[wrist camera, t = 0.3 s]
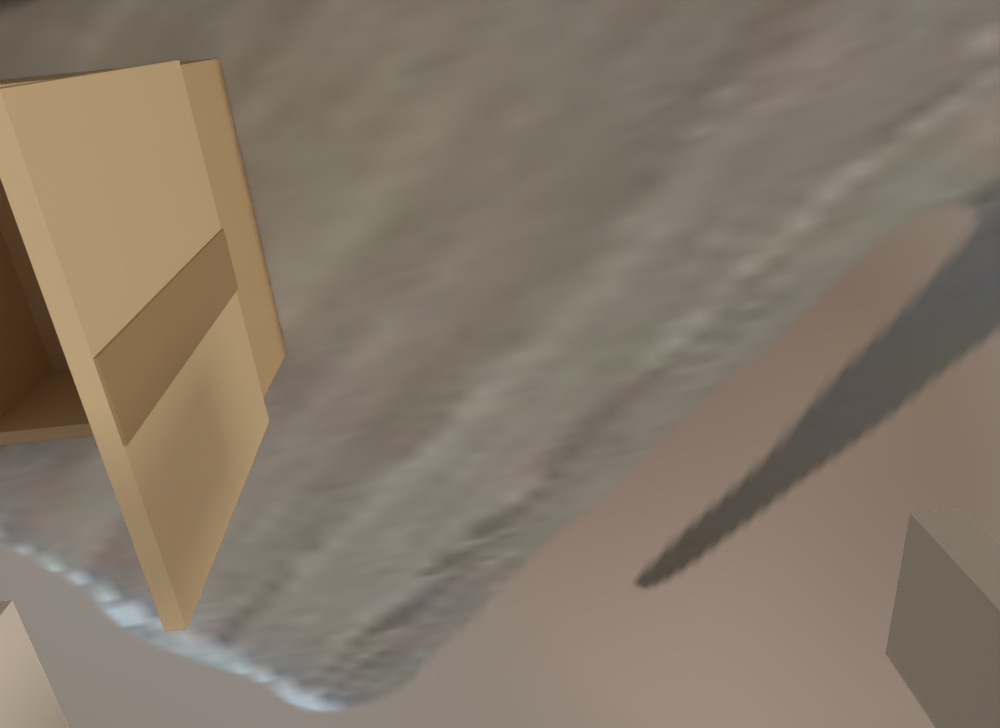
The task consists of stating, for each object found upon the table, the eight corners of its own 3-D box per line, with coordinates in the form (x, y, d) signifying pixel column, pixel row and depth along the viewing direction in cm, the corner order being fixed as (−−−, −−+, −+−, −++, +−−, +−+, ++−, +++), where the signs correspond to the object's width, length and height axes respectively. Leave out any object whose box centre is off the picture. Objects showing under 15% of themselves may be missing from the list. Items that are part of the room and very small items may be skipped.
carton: (-59, 86, 33) (-184, 102, 26) (219, 58, 33) (161, 68, 26) (50, 377, 39) (-30, 448, 32) (286, 353, 39) (252, 418, 32)
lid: (-31, 92, 15) (4, 88, 15) (161, 61, 26) (181, 59, 26) (165, 631, 21) (190, 628, 21) (254, 422, 32) (271, 420, 32)
